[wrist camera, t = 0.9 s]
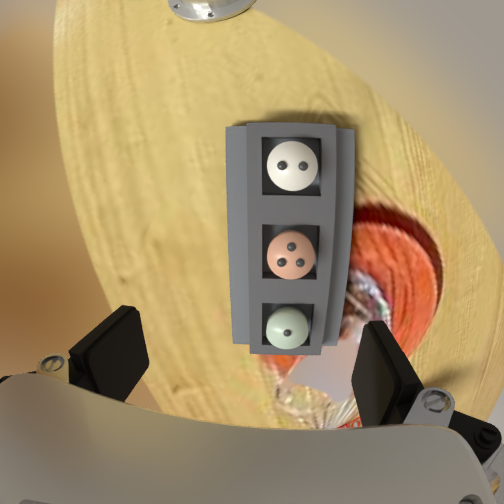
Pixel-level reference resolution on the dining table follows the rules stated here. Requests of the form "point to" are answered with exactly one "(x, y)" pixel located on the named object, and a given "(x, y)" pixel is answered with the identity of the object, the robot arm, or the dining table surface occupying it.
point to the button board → (288, 218)
